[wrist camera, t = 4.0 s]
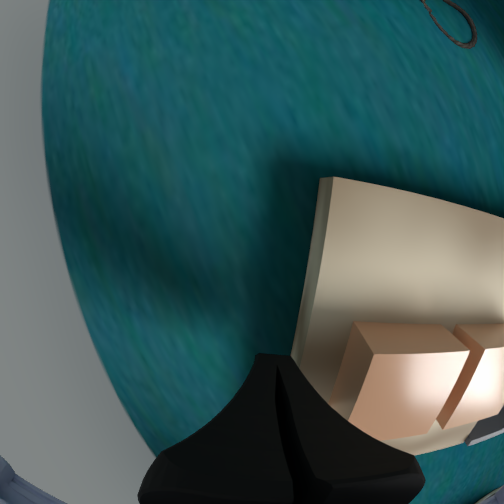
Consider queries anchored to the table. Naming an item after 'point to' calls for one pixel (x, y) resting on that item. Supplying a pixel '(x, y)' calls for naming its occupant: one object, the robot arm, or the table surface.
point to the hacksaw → (470, 21)
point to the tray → (486, 428)
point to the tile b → (477, 376)
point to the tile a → (396, 377)
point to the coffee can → (488, 496)
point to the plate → (394, 278)
